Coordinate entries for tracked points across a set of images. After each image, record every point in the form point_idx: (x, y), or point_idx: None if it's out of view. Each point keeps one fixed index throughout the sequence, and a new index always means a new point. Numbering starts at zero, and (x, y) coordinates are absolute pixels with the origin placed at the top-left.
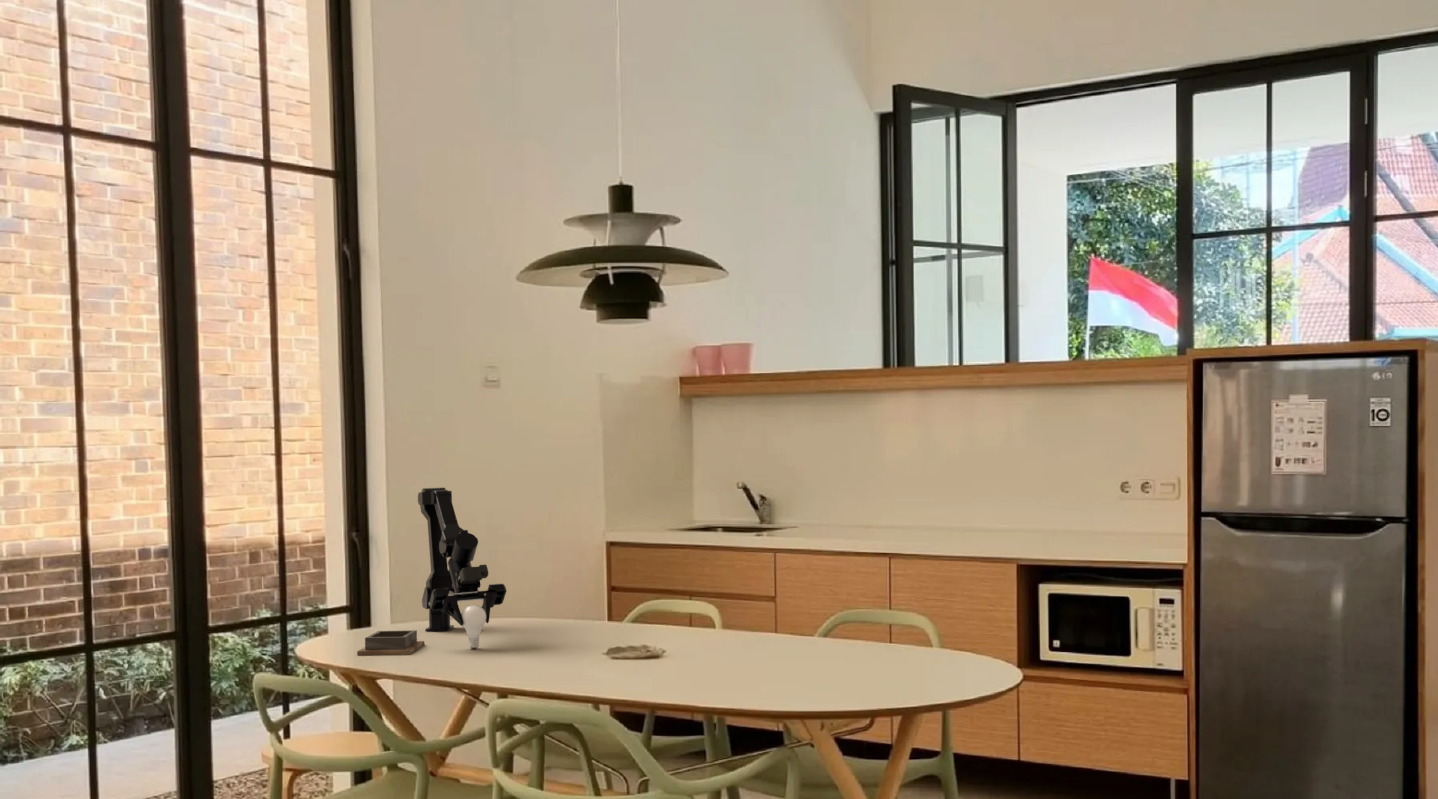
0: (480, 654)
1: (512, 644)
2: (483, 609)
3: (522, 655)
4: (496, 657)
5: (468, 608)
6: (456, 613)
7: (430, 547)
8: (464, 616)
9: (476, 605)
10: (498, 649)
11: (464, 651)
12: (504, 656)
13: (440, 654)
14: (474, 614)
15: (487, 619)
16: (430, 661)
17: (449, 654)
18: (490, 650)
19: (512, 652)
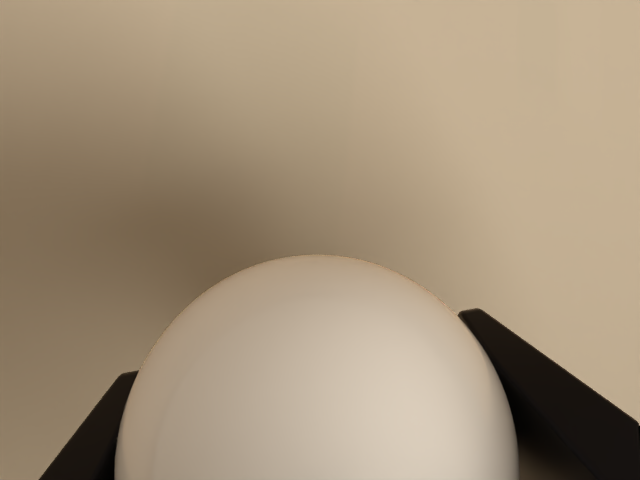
0: (297, 148)
1: (6, 460)
2: (131, 436)
3: (43, 3)
4: (212, 5)
5: (427, 378)
6: (614, 414)
7: None
8: (467, 328)
9: (250, 469)
10: (148, 286)
11: None
12: (158, 17)
13: (568, 264)
14: (321, 259)
15: (134, 379)
16: (630, 43)
17: (505, 237)
18: (210, 270)
19: (80, 130)
